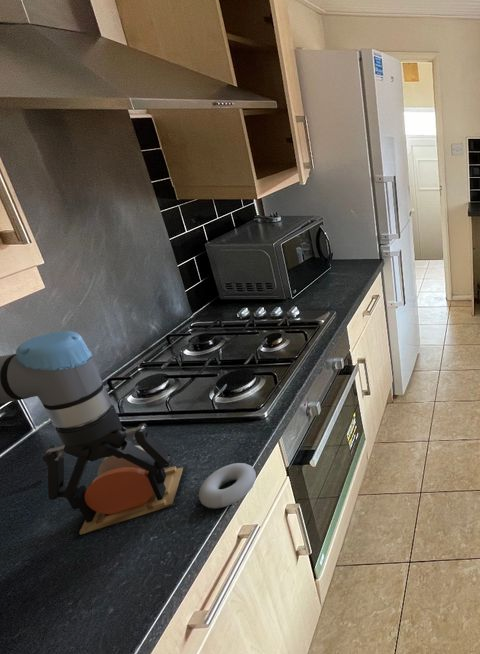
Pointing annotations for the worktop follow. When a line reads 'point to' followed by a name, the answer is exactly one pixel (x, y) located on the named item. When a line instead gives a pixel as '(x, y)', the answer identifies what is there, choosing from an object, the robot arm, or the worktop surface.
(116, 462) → the cream coaster
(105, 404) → the robot arm
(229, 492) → the donut
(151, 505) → the coaster rack
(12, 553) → the worktop surface
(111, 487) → the terracotta coaster
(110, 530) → the worktop surface
